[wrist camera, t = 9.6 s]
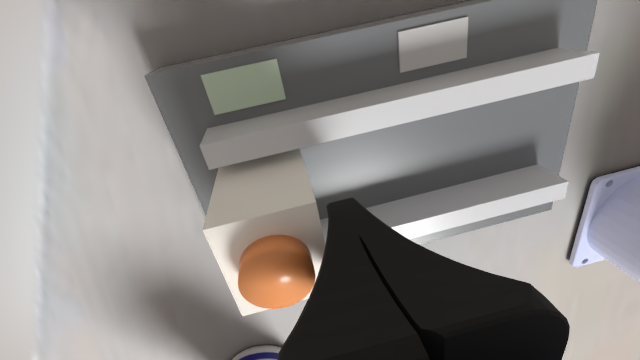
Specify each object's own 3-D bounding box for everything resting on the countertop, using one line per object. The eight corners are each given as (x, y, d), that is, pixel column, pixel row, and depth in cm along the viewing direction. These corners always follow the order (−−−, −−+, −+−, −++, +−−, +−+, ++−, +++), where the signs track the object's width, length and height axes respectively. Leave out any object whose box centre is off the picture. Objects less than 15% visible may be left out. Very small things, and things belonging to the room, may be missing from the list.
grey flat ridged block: (562, -20, 15) (655, -30, 11) (526, 193, 21) (580, 229, 17) (158, 67, 14) (124, 86, 10) (241, 267, 20) (238, 322, 16)
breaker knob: (297, 143, 14) (320, 216, 9) (314, 215, 16) (341, 308, 11) (220, 161, 14) (198, 247, 9) (246, 232, 16) (241, 336, 11)
